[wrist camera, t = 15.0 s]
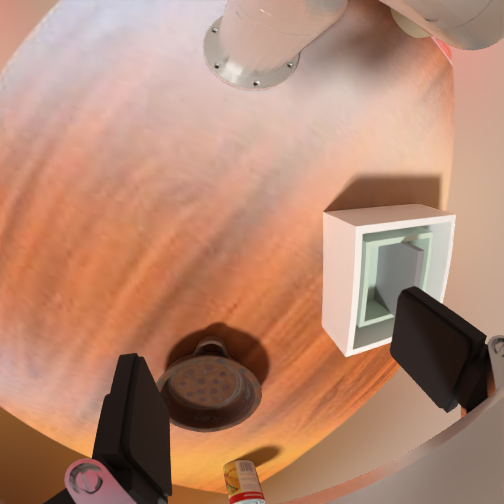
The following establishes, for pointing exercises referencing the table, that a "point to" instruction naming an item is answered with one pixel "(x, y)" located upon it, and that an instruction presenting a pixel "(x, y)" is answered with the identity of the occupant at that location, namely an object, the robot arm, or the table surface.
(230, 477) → the canned food
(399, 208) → the big crate
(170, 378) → the dish
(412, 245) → the small crate
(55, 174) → the table surface
